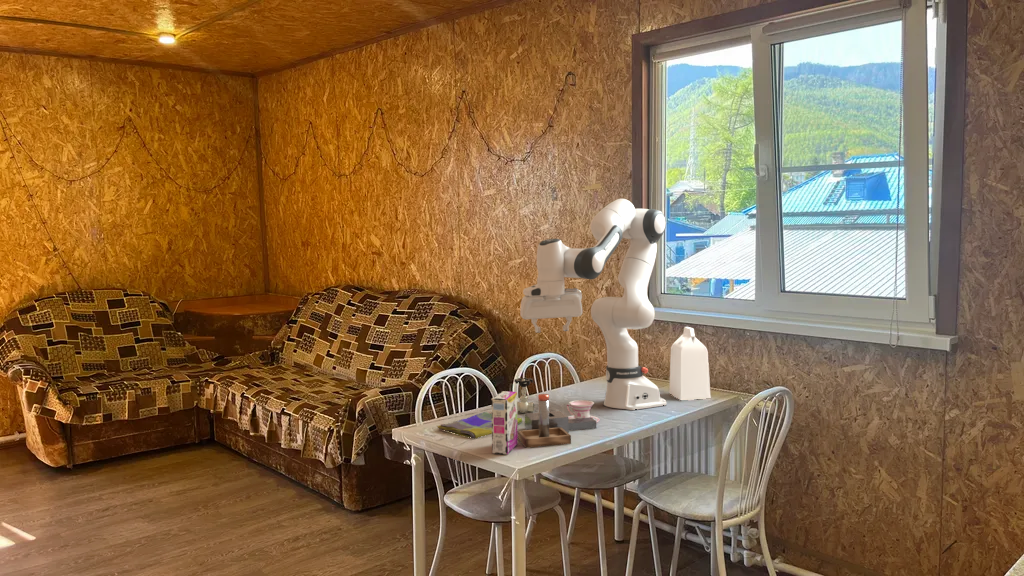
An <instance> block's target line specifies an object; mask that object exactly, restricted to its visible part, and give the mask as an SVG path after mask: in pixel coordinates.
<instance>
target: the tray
mask: <svg viewBox="0 0 1024 576" xmlns="http://www.w3.org/2000/svg"><path fill="white" fill-rule="evenodd" d="M518 439H519V440H518V442H520V443H521V444H522V445H523V446H524V448H526V447H530V448H538V446H540V447H547V446H548V447H551V446H560V445H561V444H562V445H568V444H569V445H570V444H572V435H571V434H570V433H567V432H566V431H565V430H564V429H563V428H562V427H558V428H549V437H540V438H539V429H535V430H526V429H525V430H524V429H523V430H518Z"/></svg>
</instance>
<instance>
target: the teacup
mask: <svg viewBox="0 0 1024 576" xmlns="http://www.w3.org/2000/svg"><path fill="white" fill-rule="evenodd" d="M594 404H595V402H594V401H592V400H583V399H582V400H581V399H579V400H578V399H577V400H571V401H569V402H568V404H566V407H567V409H566V410H567V411H568V412H569V414H570V415H568V419H577V418H589V417H592V418H595V419H597V421H596V424H598V423H599V422H600V418H599V417H597V416H595V415H591V413H590V411H591V409H592V407H593V405H594ZM570 408H572V410H573V412H572V411H571V410H570Z"/></svg>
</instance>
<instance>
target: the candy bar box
mask: <svg viewBox="0 0 1024 576" xmlns="http://www.w3.org/2000/svg"><path fill="white" fill-rule="evenodd" d="M517 402H518V391H512V390H511V391H509V390H507V391H506V390H505V391H504V390H503V391H501V392H499V393H498V394H496V395H495V396H493V397H492V398H491V414H492V434H491V450H492V452H491V454H492V455H493V454H494V455H502V454H503V455H507V456H508V455H509V453H510V452H512V450H513V449H514V448H516V447H517V446H518V443H519V440H518V431H519V430H518V429H519V428H518V427H519V426H518V425H519V424H518V422H517V418H518V412H517Z"/></svg>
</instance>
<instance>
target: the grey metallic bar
mask: <svg viewBox="0 0 1024 576" xmlns="http://www.w3.org/2000/svg"><path fill="white" fill-rule="evenodd" d="M537 397H538V398H537V399H538V404H537V405H538V412H539V438H540V437H549V411H550V395H549V394H548V393H540V394H538V396H537Z"/></svg>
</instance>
